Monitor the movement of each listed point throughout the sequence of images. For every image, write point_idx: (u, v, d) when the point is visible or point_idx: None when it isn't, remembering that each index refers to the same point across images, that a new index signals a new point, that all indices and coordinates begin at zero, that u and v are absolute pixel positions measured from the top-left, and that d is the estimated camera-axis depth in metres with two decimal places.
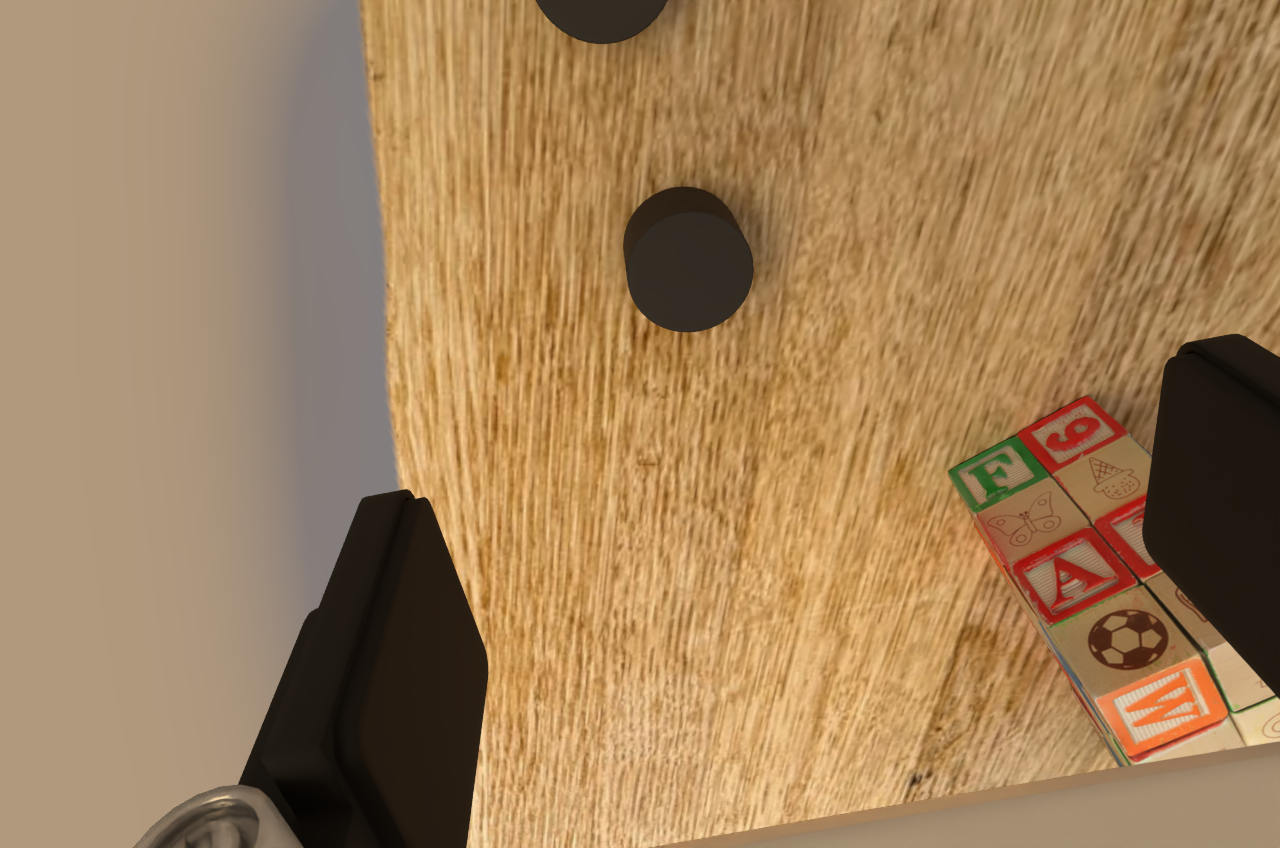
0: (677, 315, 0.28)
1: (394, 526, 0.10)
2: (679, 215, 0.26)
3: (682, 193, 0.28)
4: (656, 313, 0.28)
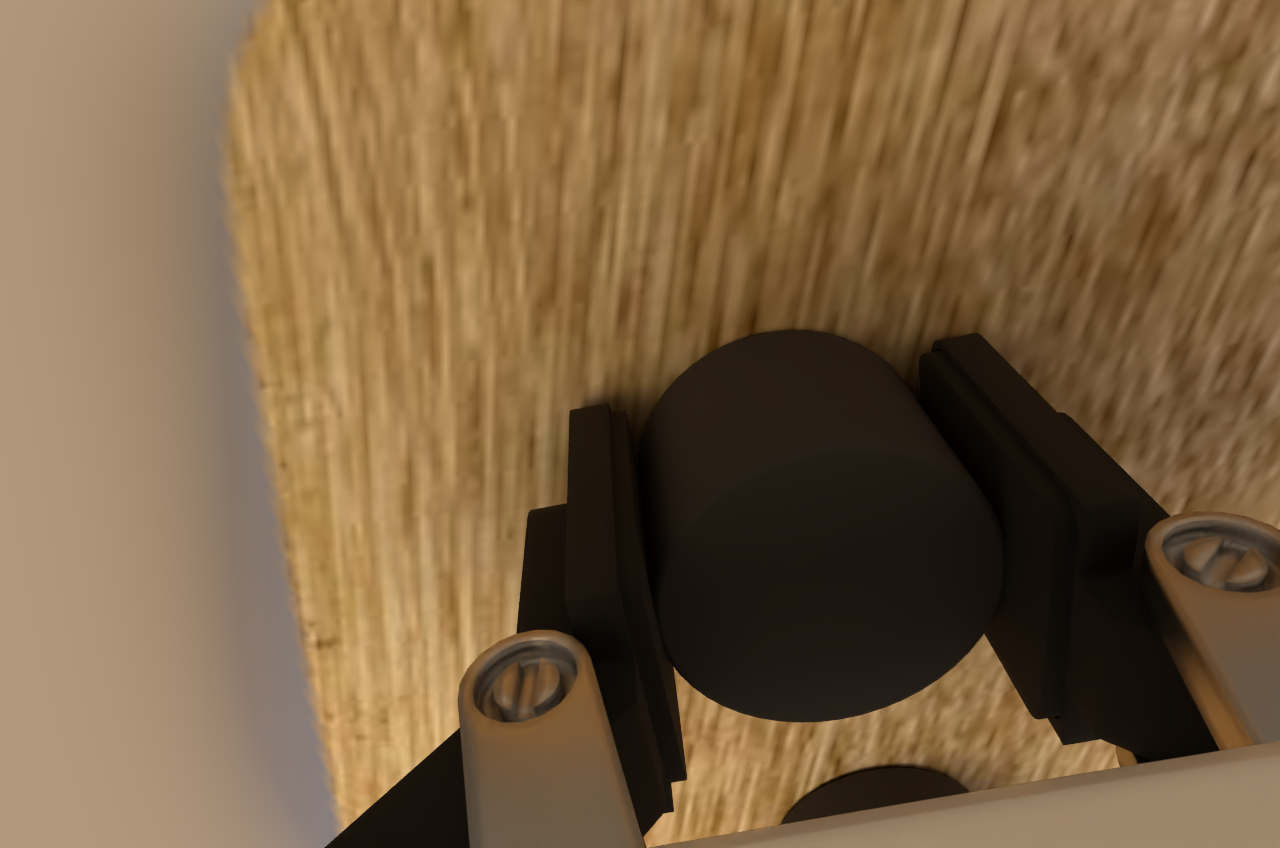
0: None
1: (610, 431, 0.11)
2: None
3: None
4: None
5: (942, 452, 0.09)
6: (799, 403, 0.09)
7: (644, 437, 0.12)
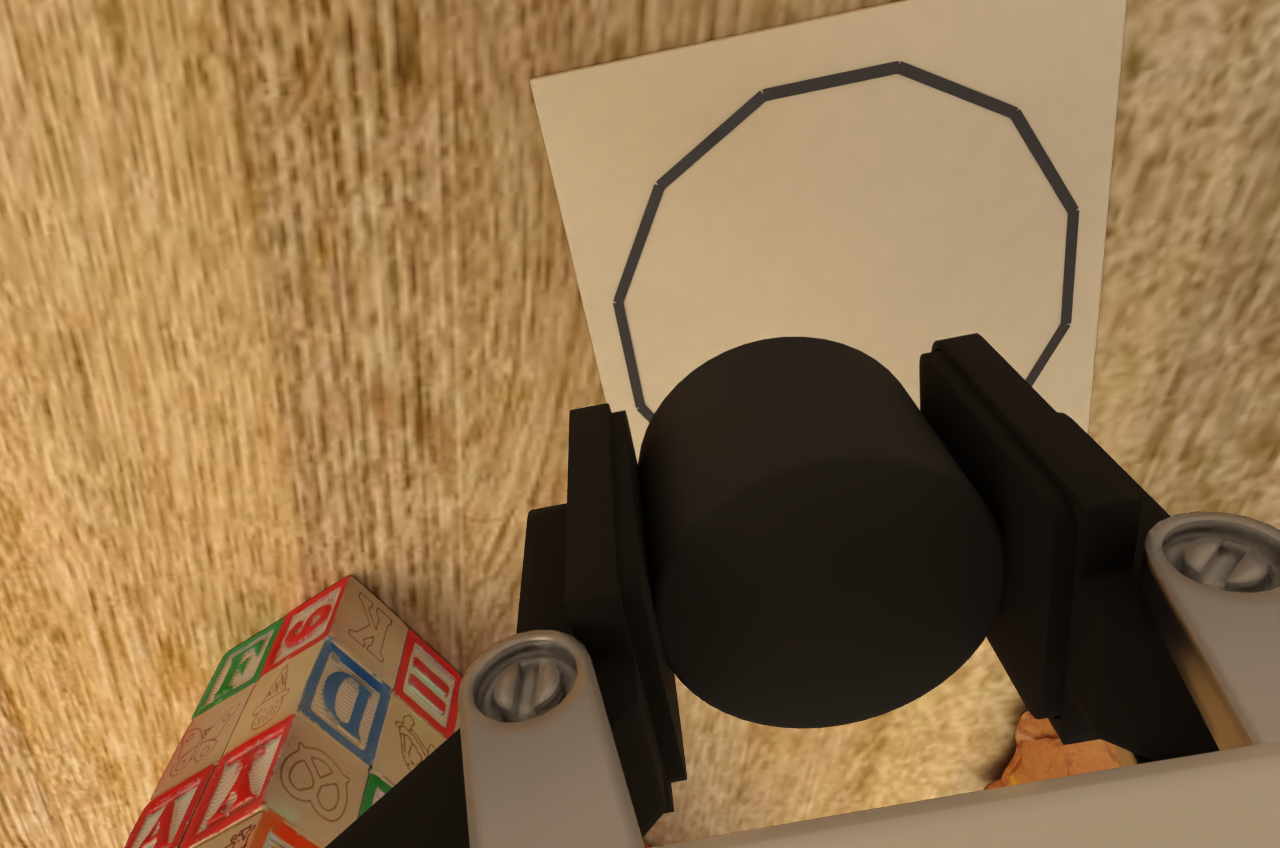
0: None
1: (610, 431, 0.11)
2: None
3: None
4: None
5: (942, 459, 0.09)
6: (800, 410, 0.09)
7: (644, 443, 0.12)
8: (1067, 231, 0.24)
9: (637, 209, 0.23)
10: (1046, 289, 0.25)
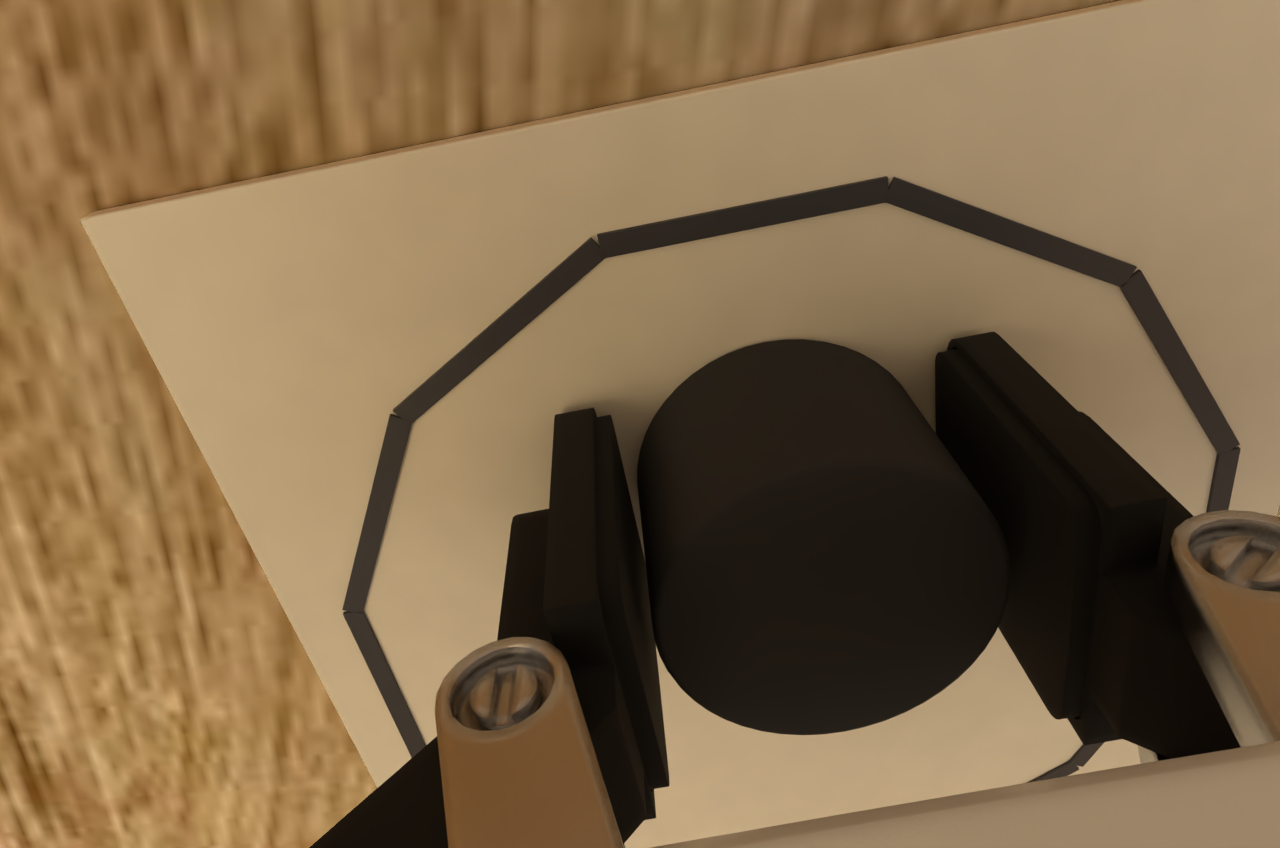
0: None
1: (594, 436, 0.11)
2: None
3: None
4: None
5: (945, 464, 0.09)
6: (801, 415, 0.09)
7: (644, 447, 0.11)
8: (1213, 482, 0.13)
9: (363, 458, 0.12)
10: None
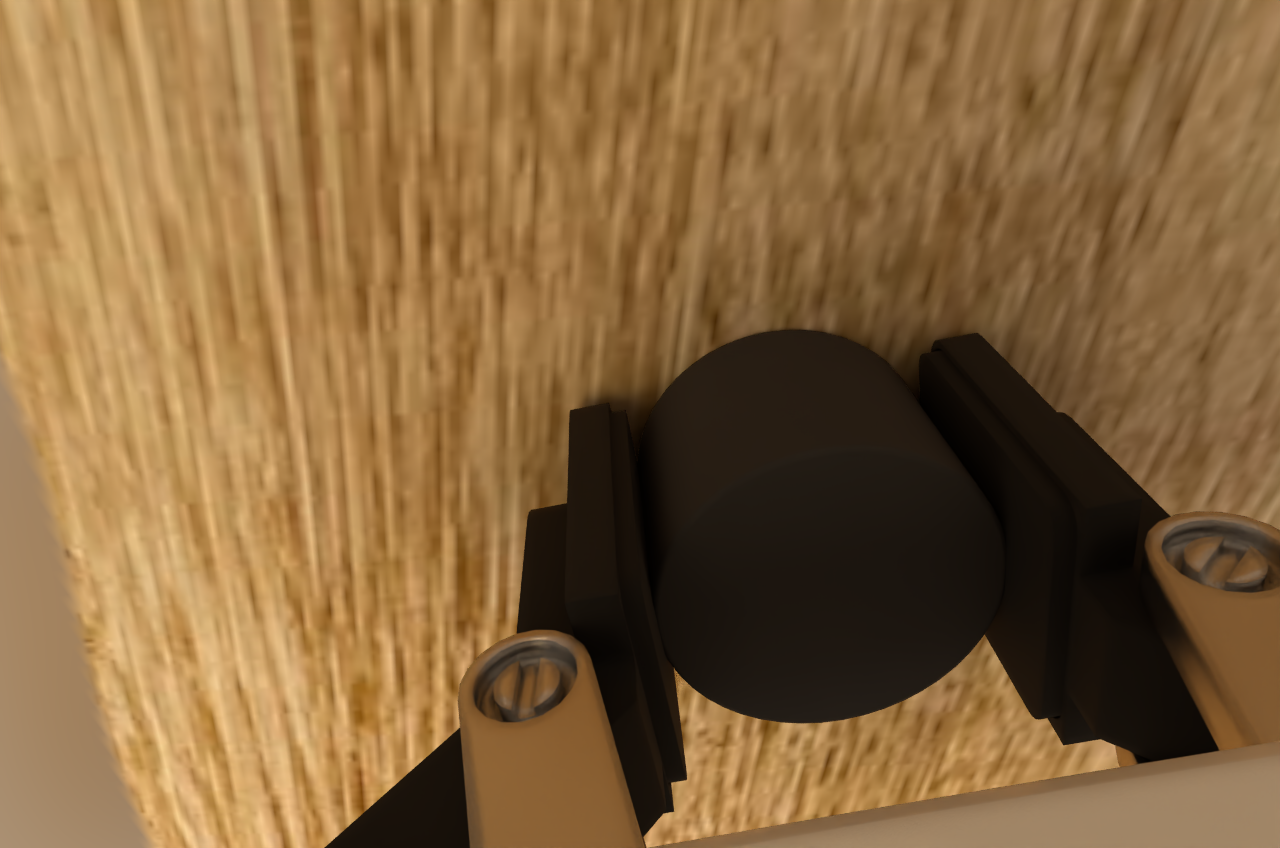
0: (786, 689, 0.10)
1: (610, 431, 0.11)
2: (811, 455, 0.09)
3: (798, 357, 0.10)
4: (730, 687, 0.10)
5: None
6: None
7: None
8: None
9: None
10: None
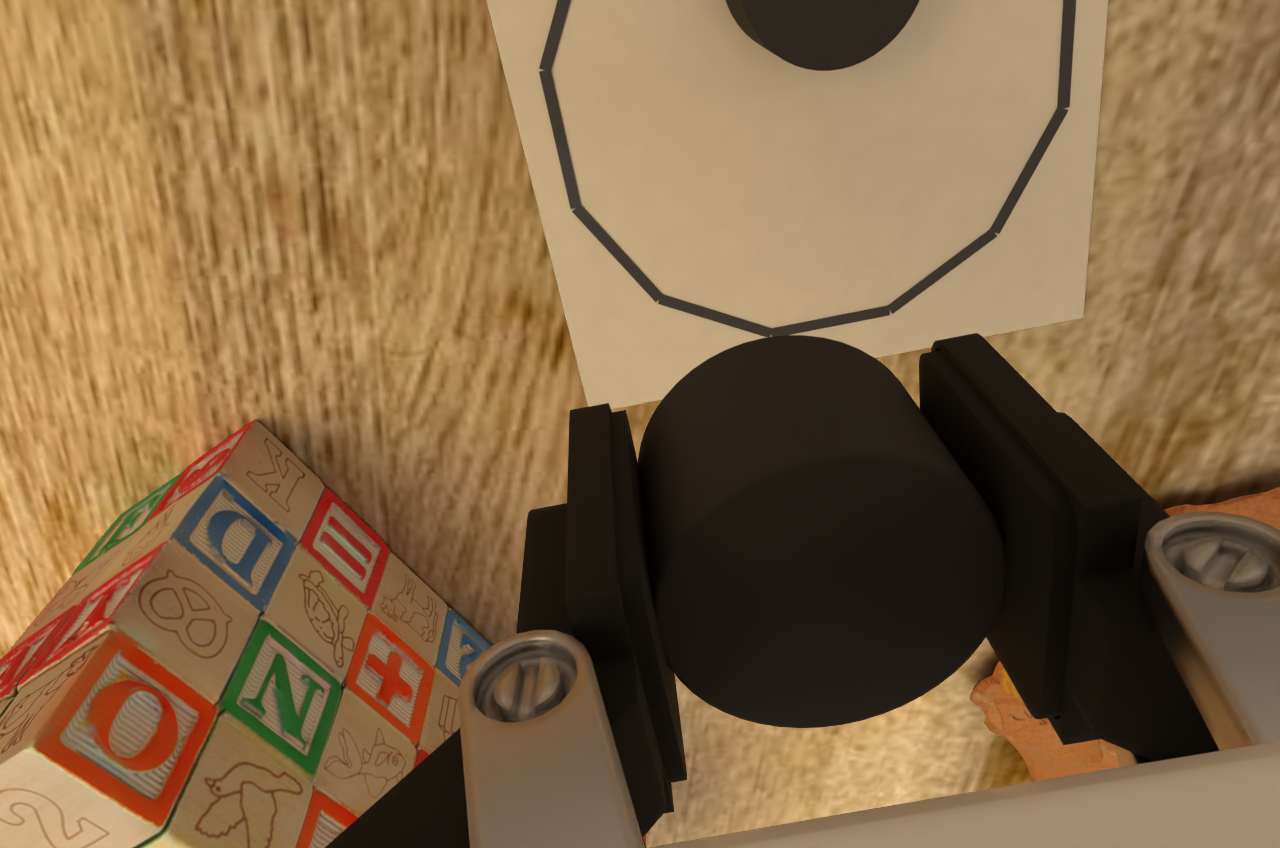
0: (786, 695, 0.10)
1: (610, 431, 0.11)
2: (811, 462, 0.09)
3: (797, 363, 0.10)
4: (730, 692, 0.10)
5: None
6: None
7: None
8: None
9: None
10: (1040, 62, 0.22)
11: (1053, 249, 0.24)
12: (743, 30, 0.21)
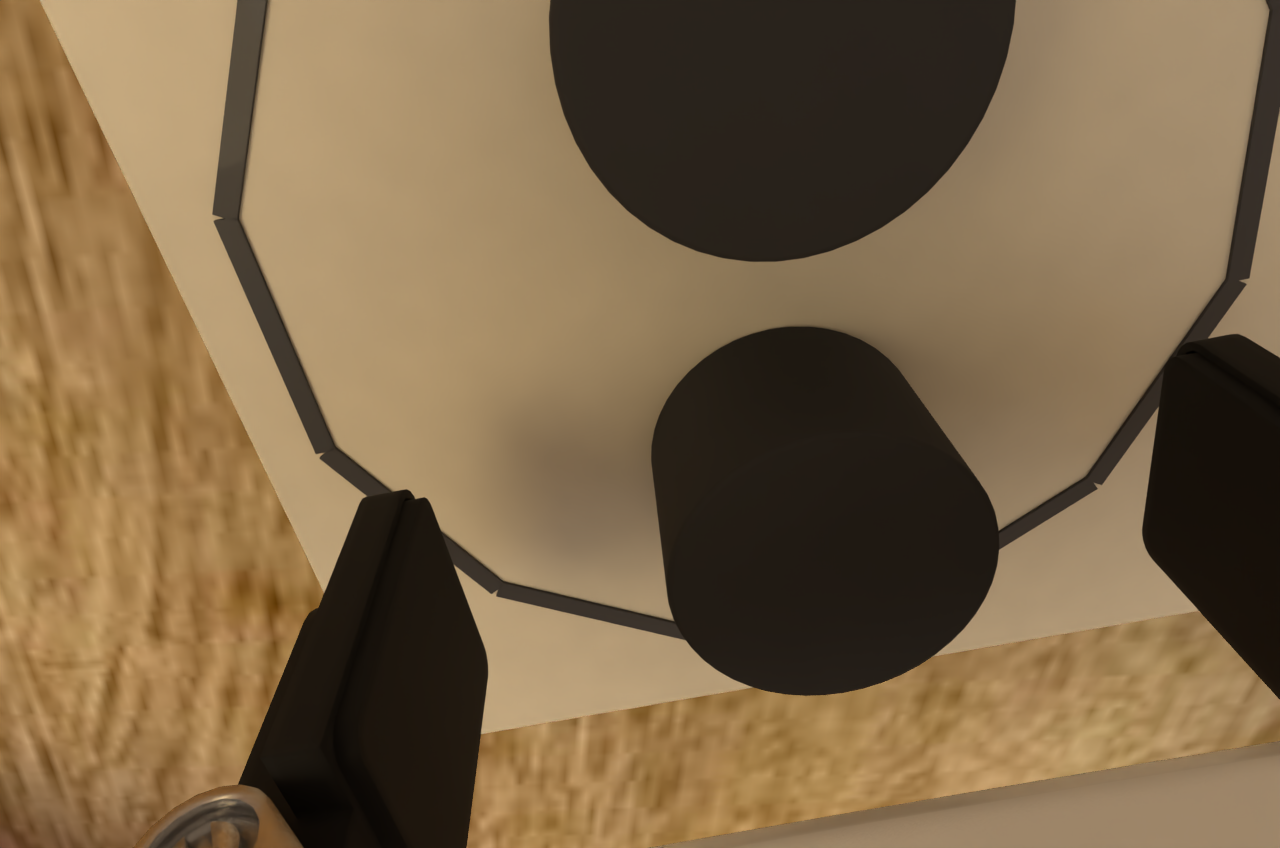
0: (791, 663, 0.11)
1: (395, 526, 0.10)
2: (816, 441, 0.09)
3: (803, 351, 0.11)
4: (739, 660, 0.11)
5: None
6: None
7: None
8: (1265, 54, 0.10)
9: None
10: (1202, 199, 0.11)
11: None
12: None
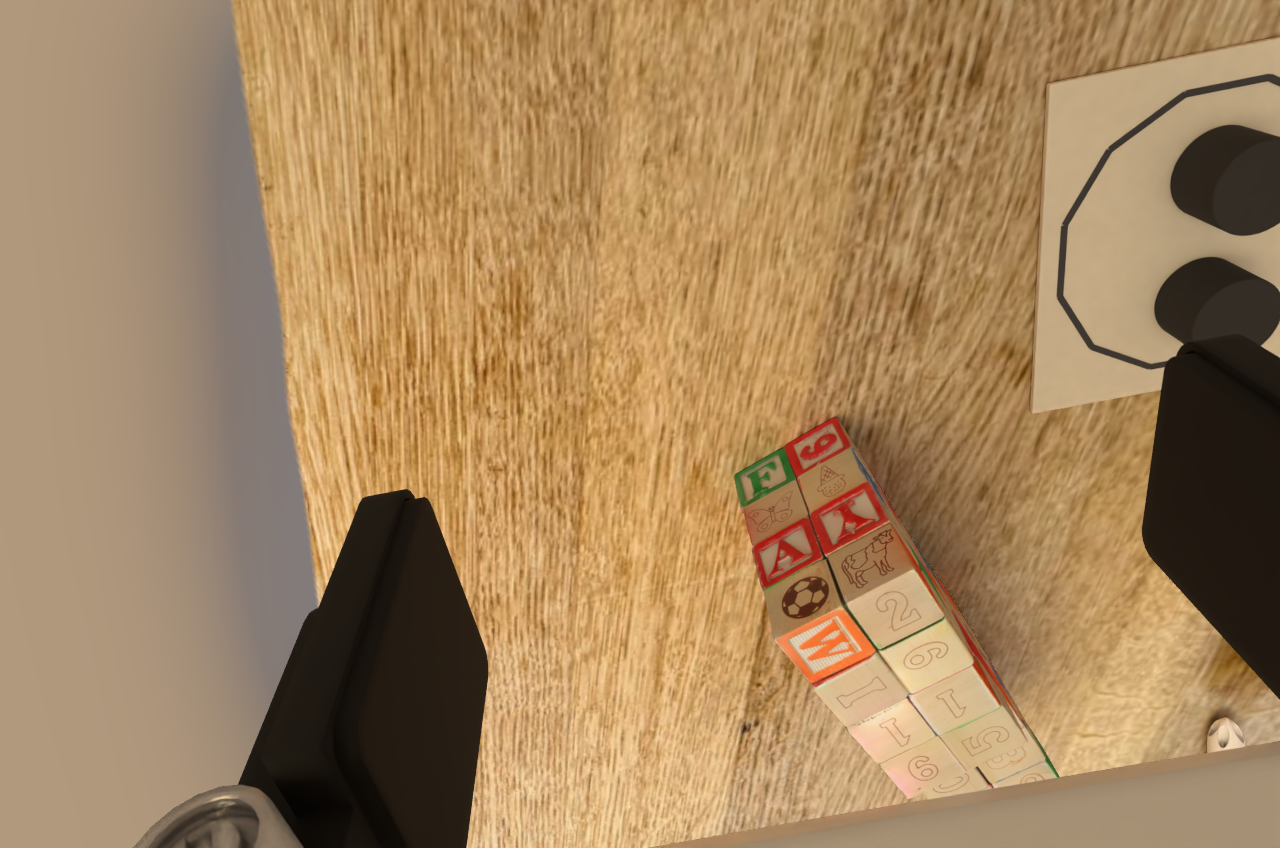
0: None
1: (394, 526, 0.10)
2: (1243, 281, 0.37)
3: (1220, 263, 0.39)
4: None
5: None
6: (1255, 134, 0.35)
7: (1181, 160, 0.37)
8: None
9: (1092, 164, 0.37)
10: None
11: None
12: (1179, 206, 0.38)
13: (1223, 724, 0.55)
